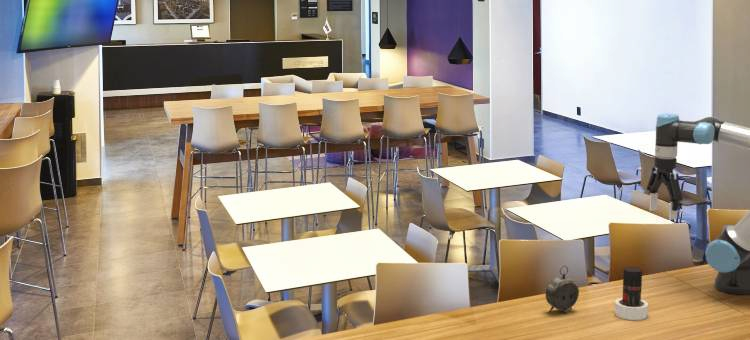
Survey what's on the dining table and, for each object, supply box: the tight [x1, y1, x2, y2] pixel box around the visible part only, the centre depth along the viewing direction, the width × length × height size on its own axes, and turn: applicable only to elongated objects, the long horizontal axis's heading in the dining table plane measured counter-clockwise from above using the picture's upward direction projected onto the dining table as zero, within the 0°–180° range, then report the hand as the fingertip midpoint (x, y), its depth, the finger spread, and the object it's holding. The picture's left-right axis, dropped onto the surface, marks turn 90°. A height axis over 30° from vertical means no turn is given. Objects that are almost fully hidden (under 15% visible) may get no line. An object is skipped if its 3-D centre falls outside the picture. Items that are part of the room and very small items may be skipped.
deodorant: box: [622, 266, 643, 307], centre depth 292 cm, size 6×6×15 cm
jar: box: [614, 297, 649, 321], centre depth 293 cm, size 10×10×4 cm
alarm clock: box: [545, 265, 580, 315], centre depth 296 cm, size 11×5×16 cm, turn 112°
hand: (662, 214), depth 318 cm, fingers open, 13 cm apart
